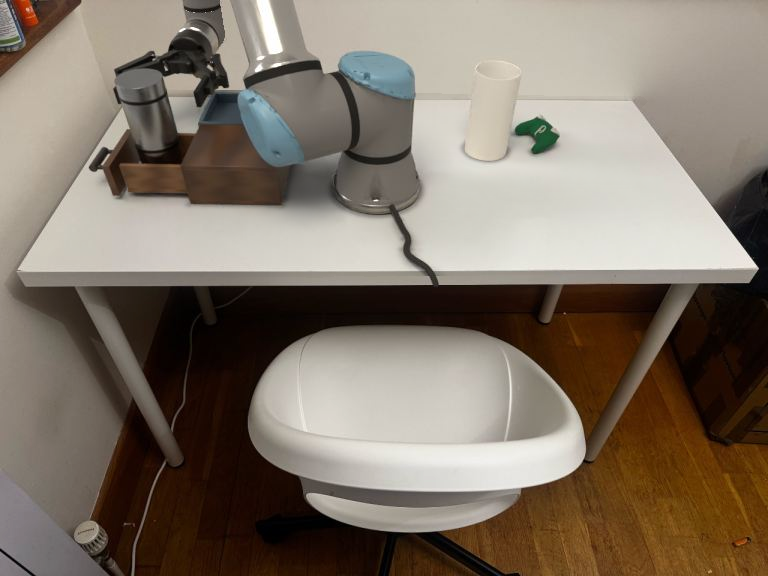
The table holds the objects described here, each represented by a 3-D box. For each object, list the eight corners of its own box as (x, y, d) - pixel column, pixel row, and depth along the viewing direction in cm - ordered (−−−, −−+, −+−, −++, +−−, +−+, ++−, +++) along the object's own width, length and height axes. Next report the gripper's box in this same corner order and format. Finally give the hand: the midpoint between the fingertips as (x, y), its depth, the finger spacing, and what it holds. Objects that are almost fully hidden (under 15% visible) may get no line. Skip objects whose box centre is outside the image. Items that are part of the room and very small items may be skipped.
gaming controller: (541, 161, 112) (566, 139, 110) (532, 151, 109) (557, 128, 107) (520, 138, 118) (543, 117, 116) (511, 128, 115) (534, 106, 113)
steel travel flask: (195, 171, 100) (171, 78, 88) (157, 187, 96) (127, 93, 85) (174, 155, 104) (148, 64, 92) (137, 170, 100) (105, 77, 88)
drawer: (88, 195, 96) (75, 166, 92) (113, 156, 105) (103, 128, 101) (197, 197, 97) (190, 168, 92) (213, 158, 105) (207, 130, 101)
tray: (277, 104, 123) (276, 93, 121) (267, 135, 113) (266, 124, 112) (215, 102, 123) (212, 91, 121) (200, 134, 113) (197, 123, 112)
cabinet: (190, 203, 97) (180, 165, 91) (208, 160, 106) (200, 124, 101) (281, 205, 97) (276, 167, 92) (291, 162, 107) (287, 125, 101)
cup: (514, 156, 109) (530, 76, 98) (476, 164, 107) (489, 83, 96) (493, 136, 115) (506, 57, 104) (457, 143, 113) (466, 64, 101)
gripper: (259, 69, 113) (234, 121, 98) (136, 65, 113) (92, 115, 98) (254, 31, 108) (226, 79, 93) (125, 26, 108) (76, 73, 93)
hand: (157, 98), depth 95 cm, fingers open, 13 cm apart
